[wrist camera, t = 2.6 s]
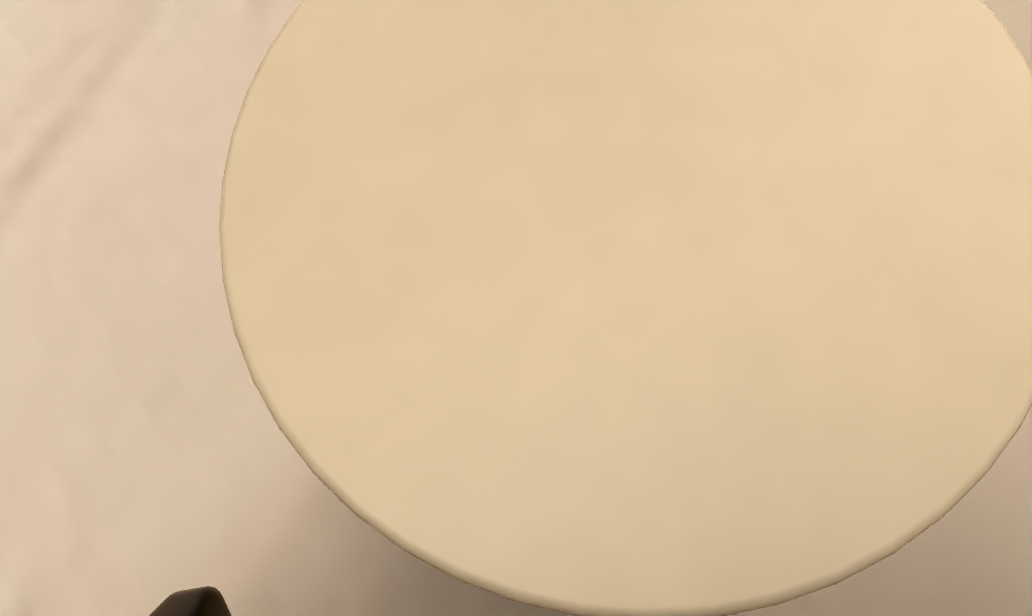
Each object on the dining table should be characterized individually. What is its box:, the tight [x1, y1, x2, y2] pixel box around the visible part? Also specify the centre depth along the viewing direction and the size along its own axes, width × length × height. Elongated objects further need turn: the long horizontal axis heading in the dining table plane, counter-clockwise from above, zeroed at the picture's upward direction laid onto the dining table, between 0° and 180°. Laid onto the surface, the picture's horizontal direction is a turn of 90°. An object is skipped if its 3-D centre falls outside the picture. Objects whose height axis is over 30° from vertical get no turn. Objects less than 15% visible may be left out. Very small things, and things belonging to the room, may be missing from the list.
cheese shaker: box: [219, 0, 1032, 616], centre depth 12 cm, size 7×7×12 cm
